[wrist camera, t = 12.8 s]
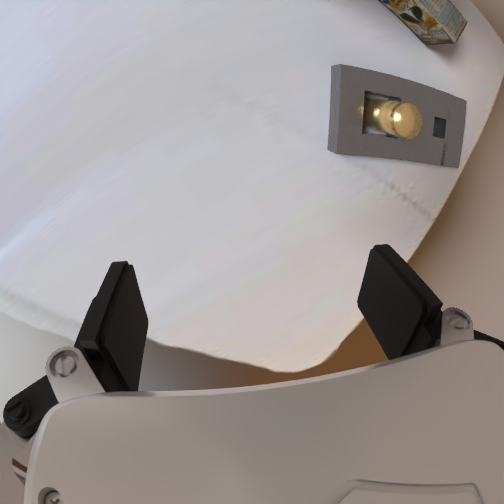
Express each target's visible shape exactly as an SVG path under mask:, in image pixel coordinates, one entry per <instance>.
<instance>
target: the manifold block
mask: <svg viewBox="0 0 504 504" xmlns="http://www.w3.org/2000/svg"><path fill="white" fill-rule="evenodd" d="M365 92H369V93H374V94H379V95H384V96H388V97H389V100H390V101H397V102H404V103H410V104H413V105H414V106H415V107H417V109H418V110H419V112H420V114H421V117H422V127H421V130H420V132H419V134H418V135H417V136H416V137H414V138H412V139H405V138H402V137H399V136H396V135H393V134H390V133H387V135H383V134H376V133H368V132H362V126H363V112H364V94H365ZM466 102H467V101H465V100H463V99H461V98H458V97H456V96H453V95H451V94H448V93H446V92H443V91H440V90H437V89H435V88H432V87H429V86H426V85H423V84H420V83H417V82H413V81H410V80H407V79H403V78H400V77H396V76H393V75H389V74H385V73H381V72H377V71H372V70H368V69H363V68H358V67H353V66H348V65H342V64H339V65H334V66H331V100H330V121H329V137H328V150H330V151H331V152H333V153H335V154H345V155H359V156H371V157H382V158H392V159H400V160H409V161H416V162H423V163H430V164H437V165H443V166H449V167H455V168H458V167H459V161H460V155H461V149H462V142H463V134H464V125H465V115H466Z"/></svg>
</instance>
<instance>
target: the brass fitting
mask: <svg viewBox="0 0 504 504" xmlns="http://www.w3.org/2000/svg"><path fill="white" fill-rule="evenodd" d="M363 124H364V125H365V126H367V127H370V128H373V129H377V130H380V131H383V132H387V133H390V134H393V135H396V136H399V137H402V138H405V139H412V138H414V137H416V136H417V135H418V134H419V132H420V130H421V127H422V117H421V114H420V112H419V110H418V109H417V107H415V106H414V105H413V104H410V103H404V102H397V101H390V100H382V99H373V98H368V99H365V100H364V112H363Z"/></svg>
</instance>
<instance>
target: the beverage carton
mask: <svg viewBox="0 0 504 504" xmlns="http://www.w3.org/2000/svg"><path fill="white" fill-rule="evenodd" d="M380 1H381V2H382V3H383V4H384V5H386V6H387V7H388V8H389V9H390V10H391V11H392V12H394V13H395V14H396V15H397V16H398V17H399V18H400V19H401V20H402V21H403V22H404V23H405V24H406V25H407V26H408V27H409V28H410V29H411V30H412V31H413V32H414V33H415V34H416V35H417V36H418V37H419V38H420V39H421V40H422V41H423V42H424V43H425V44H426V45H433V44H445V43H449V44H451V43H456V42H457V40H458V39H459V37H460V35H461V33H462V32H463V30H464V28H465V26H466V24H467V21H466V20H465V19H464V17H463V16H462V14H461V13H460V12H459V11H458V10H457V9H456V7H455V6H454V5H453V4H452V3H451V2H450V0H380Z"/></svg>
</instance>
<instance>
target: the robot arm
mask: <svg viewBox="0 0 504 504" xmlns="http://www.w3.org/2000/svg"><path fill="white" fill-rule="evenodd" d="M357 303H358V307H359V309H360V311H361V313H362V314H363V316H364V318H365V319H366V321H367V323H368V324H369V326H370V328H371V329H372V331H373V333H374V335H375V336H376V338H377V340H378V341H379V343H380V345H381V347H382V349H383V350H384V352H385V354H386V356H387V358H388V359H389V361H385V362H382V363H377V364H374V365H369V366H365V367H361V368H357V369H352V370H348V371H343V372H338V373H334V374H328V375H323V376H318V377H312V378H307V379H300V380H294V381H287V382H281V383H273V384H265V385H256V386H247V387H237V388H225V389H211V390H190V391H138V385H139V379H140V372H141V365H142V358H143V353H144V347H145V340H146V335H147V330H148V318H147V314H146V311H145V307H144V304H143V301H142V297H141V294H140V290H139V286H138V283H137V279H136V275H135V271H134V267H133V265H129V264H128V262H127V261H121V262H112V264H111V266H110V268H109V270H108V272H107V274H106V276H105V278H104V281H103V283H102V285H101V287H100V289H99V292H98V294H97V296H96V297H95V298H94V299H93V300H92V303H91V305H90V307H89V310H88V312H87V314H86V317H85V319H84V322H83V324H82V327H81V329H80V332H79V334H78V337H77V339H76V342H75V345H74V347H70V346H67V347H62V348H60V349H58V350H56V351H54V352H53V353H52V354H51V355H50V356H49V358H48V360H47V362H46V367H45V369H46V374H47V375H45V376H44V377H42V378H41V379H40V380H38V381H37V382H35V383H33V384H32V385H30V386H29V387H27V388H26V389H24V390H23V391H21V392H20V393H19V394H17V395H15V396H14V397H12V398H11V399H10V400H9V401H8V402H7V404H6V405H5V408H4V412H3V413H4V414H3V418H4V421H3V423H1V422H0V504H504V342H503V341H500V340H498V339H496V338H493V337H491V336H488V335H486V334H483V333H481V332H478V331H476V330H473V322H472V320H471V318H470V317H469V315H468V314H467V313H465V312H464V311H463V310H460V309H458V308H454V307H449V308H446V309H445V310H444V311H443V312H442V311H441V310H440V309H441V307H442V305H443V303H442V302H441V301H440V300H439V298H438V297H437V296H436V295H435V294H434V293H433V291H432V290H431V289H430V288H429V287H428V286H427V285H426V284H425V283H424V281H423V280H422V279H421V278H420V277H419V276H418V275H417V274H416V272H415V271H414V270H413V269H412V268H411V267H410V266H409V265H408V264H407V263H406V262H405V261H404V260H403V259H402V258H401V257H400V255H399V254H398V253H397V252H396V251H395V250H394V249H393V248H392V247H391V246H390V245H388V244H382V245H375V246H374V248H373V249H371V250H370V254H369V258H368V262H367V266H366V270H365V274H364V278H363V282H362V285H361V289H360V293H359V296H358V300H357Z"/></svg>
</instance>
